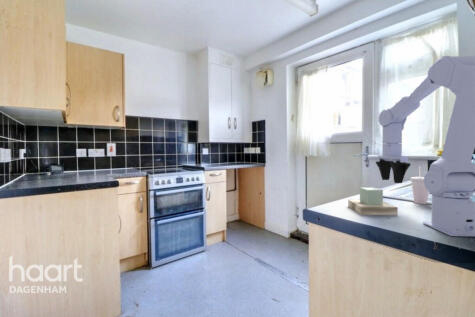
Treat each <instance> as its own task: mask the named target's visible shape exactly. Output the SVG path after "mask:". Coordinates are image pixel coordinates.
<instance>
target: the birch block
mask: <svg viewBox="0 0 475 317" xmlns="http://www.w3.org/2000/svg"><path fill="white" fill-rule="evenodd" d="M347 200H348V203H347V205H348V207H349V208H351V209H352V210H354V211H356V212H357V213H358V214H360V215H362V216H398V212H399V210H398V209H399V208H398V206H395V205H393V204H391V203H388V202H386V201H384V200H383V205H367V204H365V203H362V202H360V199H347Z"/></svg>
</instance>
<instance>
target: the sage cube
mask: <svg viewBox="0 0 475 317" xmlns="http://www.w3.org/2000/svg"><path fill="white" fill-rule="evenodd" d="M383 195H384V189H380V188H377V187H359V200H360V202H362V203H365V204H367V205H383V201H384V196H383Z"/></svg>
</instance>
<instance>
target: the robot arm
mask: <svg viewBox="0 0 475 317" xmlns="http://www.w3.org/2000/svg"><path fill="white" fill-rule="evenodd" d="M440 87H443V88H445V89H449V91H451V93H453V94H454V95H455V99H454V103H453V108H452V111H451V116H450V119H449V124H448V128H447V131H446V135H445V141H444V145H443V148H442V152H441V153H442V154H441V156H440V158H437V160H435V161H433V162H432V163H431V164H430V165H429V169H428V171H427V172H426V173H425V174H424V176H423V177H424V185H425V187H426V189H427V190H428V191H429V194H428V195H431V221H423V222H422V223H423V224H424V225H426V226H428V227H430V228H432V229H435V230H437V231H439V232H441V233H444V234H446V235H448V236H450V237H475V201H473V200H472V199H471V197H472V198H473V195H474V193H475V163H473V162H472V158H473V155H474V152H475V55H461V56H459V55H458V56H451V55H443V56H441V57H438V58H437V59H436V60H435V61H434V62H433V64H432V65H431V66H429V67H428V70H427V75H426V77H424V79H423V80H422V81H421V82H420V83H419V84H418V85H417V87H415V89H413V91H412V92H410V94H404V95H402V96H400V98H399V99H398V100H397V101H396V102H395V103H394V104H393V105H392V106H391V107H390V108H387V109H383V110H382V111H381V112H380V113H379V115H378V122H379V125H380V126H381V127H382V146H381V147H382V149H381V150H382V152H381V154H382V155H381V154H379V155H377V161H375V165H376V166H377V167H378V170H379V172H380V176H381V179H382V181H389V180H390V178H391V170H392V175H393V182H394V183H395V184H402V183H403V181H404V178H405V175H406V172H407V171H408V169H409V168H410V166H411V163H410V162H409V156H405V155H403V153H402V151H403V149H402V148H403V144H402V142H403V131H404V129H405V124H406V122H407V119H408V117H409V116H410V115H411V114H412V113H414V112H416V110H417V109H419V108H420V105H421V101H423V100H424V99H426V98H427V97H428V96H429V95H430V94H432V93H434V92H435V91H437V90H438V89H439V88H440Z"/></svg>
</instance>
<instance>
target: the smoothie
mask: <svg viewBox="0 0 475 317" xmlns="http://www.w3.org/2000/svg"><path fill="white" fill-rule="evenodd" d="M421 175H422V166H418V176H412V177H410V181H411V188H412V197H413V202H414V204H419V205H427V203H428V198H429V195H430V194H429V191H428V190H427V189H426V187H425V185H424V177H425V176H421Z"/></svg>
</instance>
